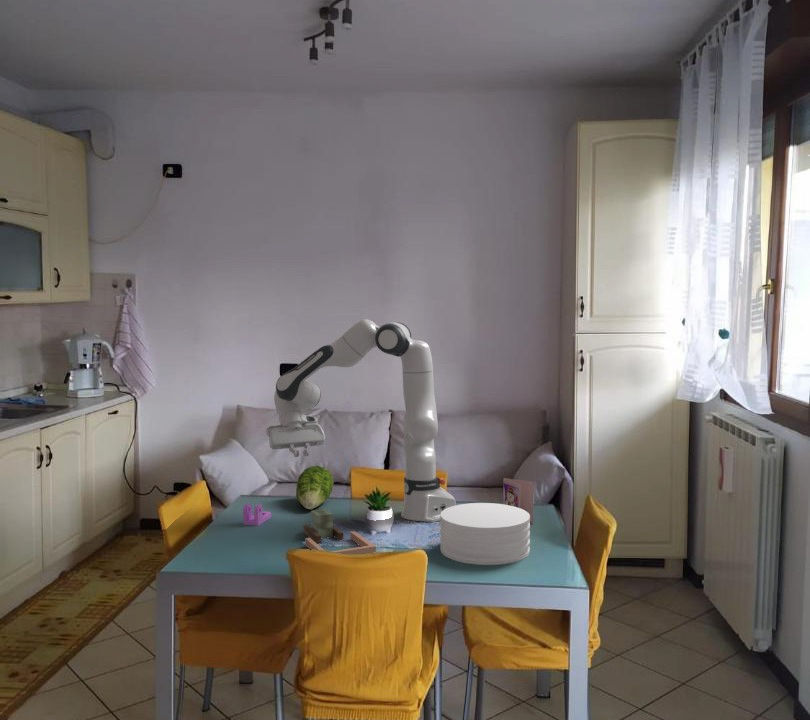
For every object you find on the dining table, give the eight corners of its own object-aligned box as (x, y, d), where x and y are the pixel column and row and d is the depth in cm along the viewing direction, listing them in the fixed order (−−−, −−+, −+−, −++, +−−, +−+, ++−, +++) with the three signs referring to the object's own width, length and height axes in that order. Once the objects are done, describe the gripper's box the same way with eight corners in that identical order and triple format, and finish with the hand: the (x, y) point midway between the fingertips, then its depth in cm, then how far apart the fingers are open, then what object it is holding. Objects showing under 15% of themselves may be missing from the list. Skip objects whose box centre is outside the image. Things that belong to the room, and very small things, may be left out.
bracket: (258, 525, 277) (257, 506, 276) (243, 524, 278) (243, 505, 278) (273, 515, 289) (273, 497, 289) (259, 514, 291) (259, 496, 290)
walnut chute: (328, 528, 272) (328, 521, 272) (343, 540, 260) (343, 532, 259) (303, 532, 268) (303, 525, 268) (317, 544, 256) (316, 536, 255)
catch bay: (354, 538, 261) (354, 531, 261) (375, 554, 246) (375, 546, 245) (305, 545, 254) (305, 538, 254) (323, 562, 238) (323, 554, 238)
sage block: (325, 531, 269) (325, 508, 268) (332, 537, 263) (332, 513, 262) (311, 533, 267) (311, 510, 266) (318, 539, 261) (318, 515, 260)
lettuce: (293, 523, 293) (286, 491, 290) (302, 495, 316) (296, 465, 312) (331, 519, 293) (324, 486, 289) (337, 490, 315) (331, 460, 311)
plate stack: (436, 537, 262) (436, 503, 261) (519, 535, 264) (520, 501, 263) (445, 566, 234) (445, 528, 233) (538, 564, 236) (539, 526, 235)
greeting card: (501, 519, 282) (501, 478, 281) (519, 517, 285) (519, 476, 284) (517, 528, 272) (518, 485, 270) (536, 525, 275) (536, 483, 273)
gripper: (266, 421, 282) (275, 453, 274) (321, 417, 291) (330, 448, 283) (263, 431, 287) (271, 463, 279) (317, 427, 296) (326, 458, 288)
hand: (301, 455), depth 281 cm, fingers open, 2 cm apart
